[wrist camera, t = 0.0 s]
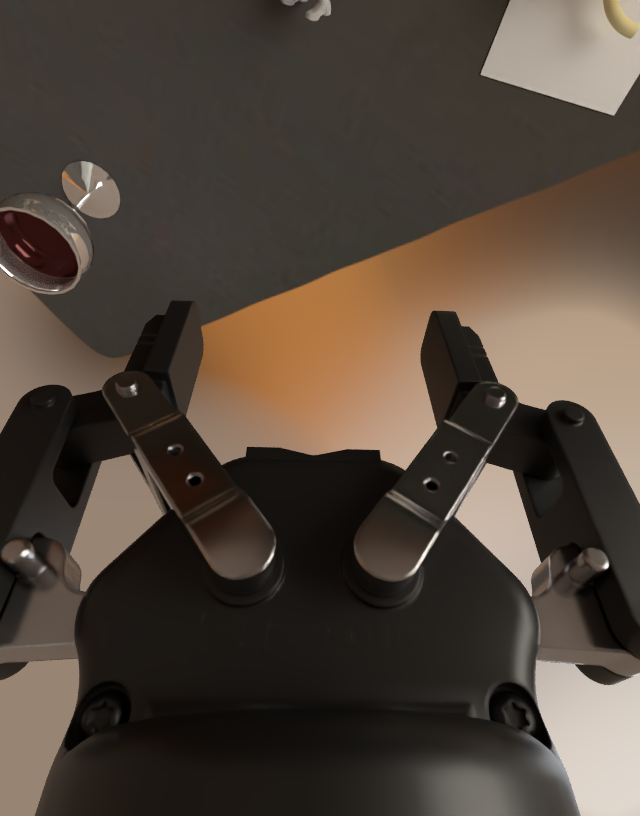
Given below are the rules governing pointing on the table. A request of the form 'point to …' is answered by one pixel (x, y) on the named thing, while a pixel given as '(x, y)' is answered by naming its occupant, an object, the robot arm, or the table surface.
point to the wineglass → (54, 230)
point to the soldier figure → (314, 8)
